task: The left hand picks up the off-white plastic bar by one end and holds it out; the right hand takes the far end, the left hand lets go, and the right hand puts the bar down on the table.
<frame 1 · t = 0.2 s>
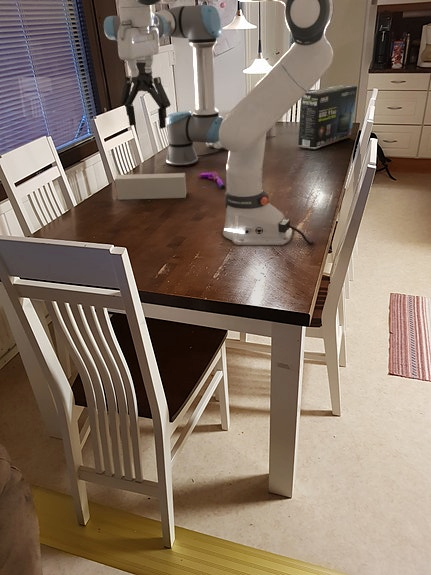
left hand: (147, 126, 166), 28 cm above the table, tool pointing down, fingers open, 13 cm apart
right hand: (142, 74, 134), 47 cm above the table, tool pointing down, fingers open, 8 cm apart
router box: (325, 143, 245), on the table
fossil: (222, 146, 246), on the table
bar: (152, 196, 183), on the table
handgun: (212, 182, 195), on the table
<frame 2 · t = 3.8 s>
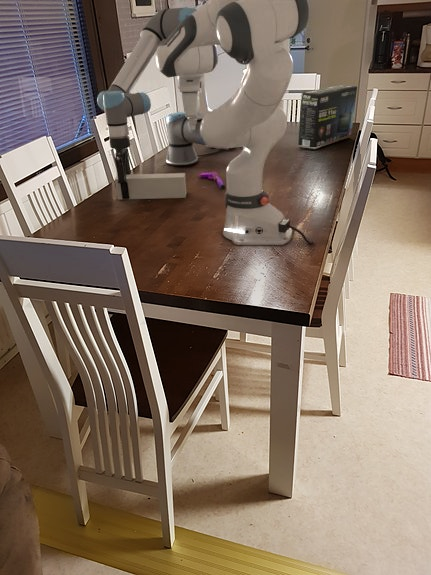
left hand: (127, 195, 183), 0 cm above the table, tool pointing down, fingers closed on bar, 5 cm apart
right hand: (193, 126, 156), 29 cm above the table, tool pointing down, fingers open, 8 cm apart
bar: (152, 196, 183), on the table, touching left hand
everything else where it was.
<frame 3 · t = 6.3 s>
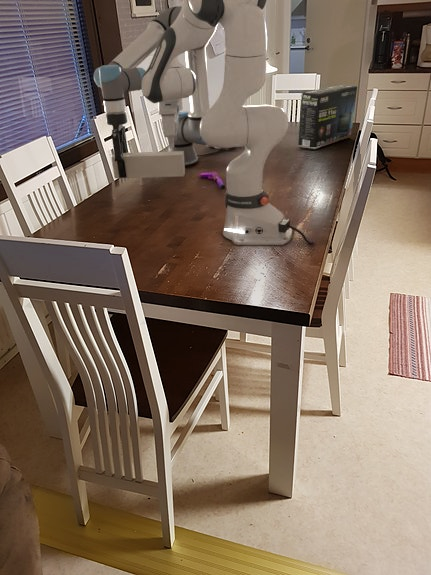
left hand: (124, 174, 179), 9 cm above the table, tool pointing down, fingers closed on bar, 5 cm apart
right hand: (173, 143, 172), 20 cm above the table, tool pointing down, fingers open, 8 cm apart
bar: (150, 175, 179), point 9 cm above the table, touching left hand
everything else where it was.
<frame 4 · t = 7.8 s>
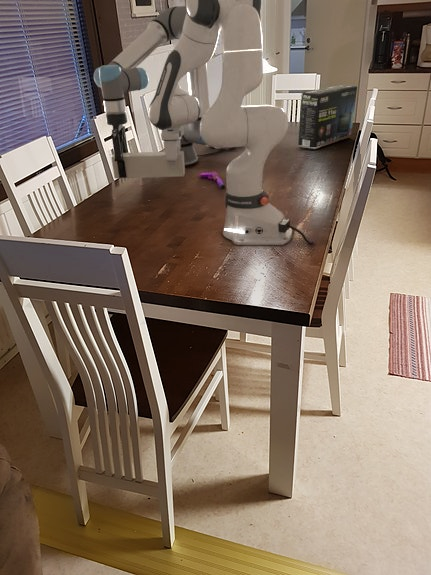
left hand: (124, 174, 179), 9 cm above the table, tool pointing down, fingers closed on bar, 5 cm apart
right hand: (175, 167, 177), 12 cm above the table, tool pointing down, fingers closed on bar, 5 cm apart
bar: (150, 175, 179), point 9 cm above the table, touching right hand, left hand
everything else where it was.
when the left hand's fingers open (9 cm above the table, at t = 8.8 s): bar stays where it is, held by the right hand.
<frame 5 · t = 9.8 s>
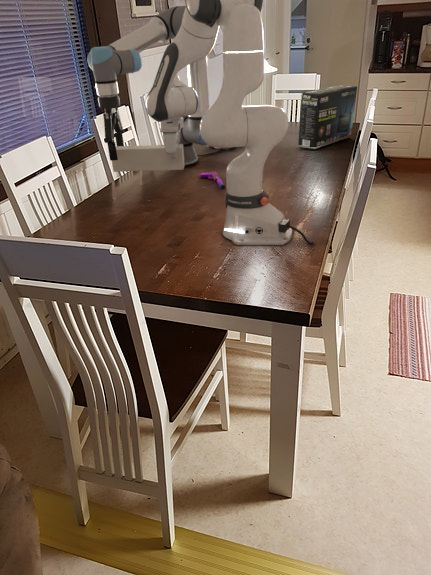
left hand: (117, 155, 175), 17 cm above the table, tool pointing down, fingers open, 13 cm apart
right hand: (174, 160, 175), 14 cm above the table, tool pointing down, fingers closed on bar, 5 cm apart
bar: (149, 168, 177), point 11 cm above the table, touching right hand
everything else where it was.
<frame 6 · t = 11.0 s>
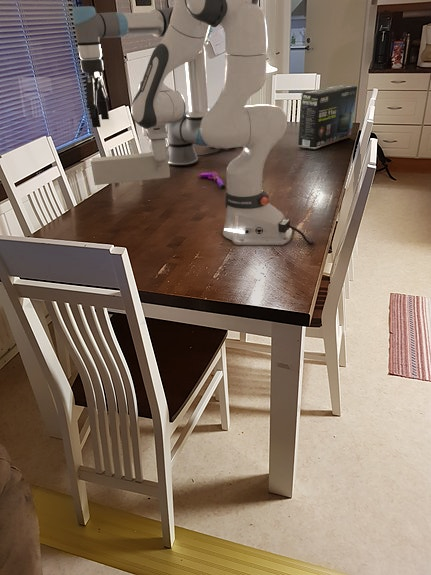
left hand: (101, 123, 169), 29 cm above the table, tool pointing down, fingers open, 13 cm apart
right hand: (159, 168, 167), 14 cm above the table, tool pointing down, fingers closed on bar, 5 cm apart
bar: (132, 179, 167), point 11 cm above the table, touching right hand
everything else where it was.
when the right hand's fingers open (5 cm above the table, at t = 14.5 s): bar stays where it is, on the table.
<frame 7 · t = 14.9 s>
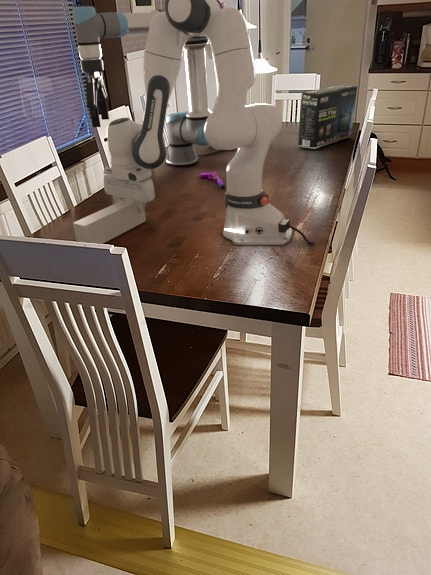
left hand: (101, 123, 169), 29 cm above the table, tool pointing down, fingers open, 13 cm apart
right hand: (131, 210, 157), 5 cm above the table, tool pointing down, fingers open, 8 cm apart
bar: (113, 233, 153), on the table
everything else where it was.
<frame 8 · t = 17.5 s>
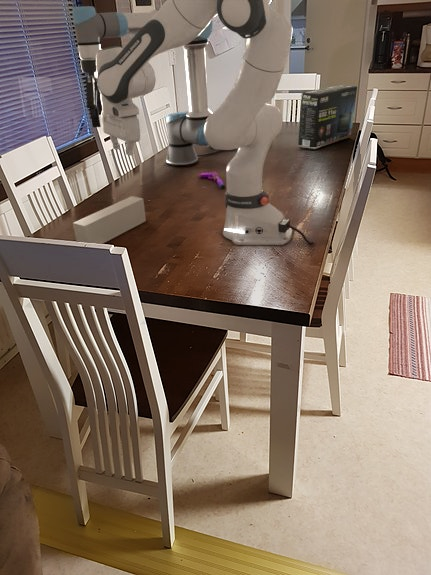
left hand: (101, 123, 169), 29 cm above the table, tool pointing down, fingers open, 13 cm apart
right hand: (123, 152, 147), 25 cm above the table, tool pointing down, fingers open, 8 cm apart
nothing on the table moved.
at the end: bar inside the target area (9.7 cm from its centre), on the table; the left hand is holding nothing; the right hand is holding nothing; bar at rest at the end (0.0 cm/s) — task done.
